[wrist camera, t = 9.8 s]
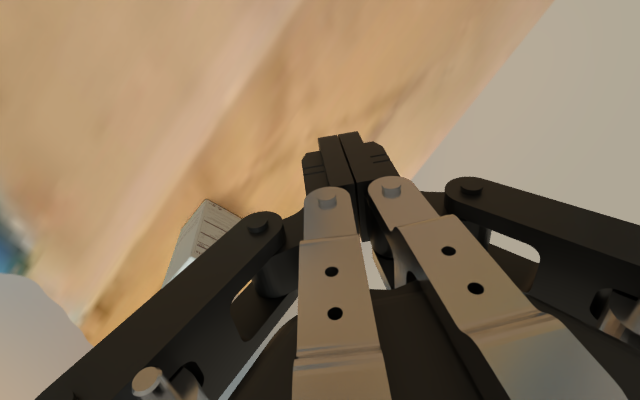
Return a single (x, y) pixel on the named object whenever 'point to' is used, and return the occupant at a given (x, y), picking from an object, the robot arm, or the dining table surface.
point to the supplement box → (199, 236)
